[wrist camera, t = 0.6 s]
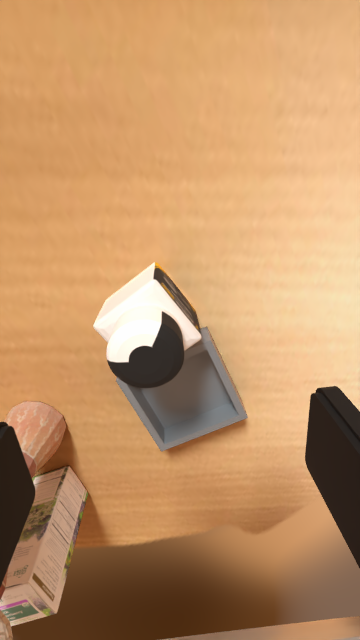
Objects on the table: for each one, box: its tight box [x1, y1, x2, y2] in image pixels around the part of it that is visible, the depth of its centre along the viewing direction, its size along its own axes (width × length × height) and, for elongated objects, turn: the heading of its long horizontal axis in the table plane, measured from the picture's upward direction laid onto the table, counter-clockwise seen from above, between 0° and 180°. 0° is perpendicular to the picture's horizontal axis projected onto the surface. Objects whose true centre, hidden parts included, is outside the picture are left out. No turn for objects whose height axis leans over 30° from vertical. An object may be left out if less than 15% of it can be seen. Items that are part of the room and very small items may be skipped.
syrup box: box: [0, 466, 88, 626], centre depth 39 cm, size 6×6×14 cm
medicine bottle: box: [93, 262, 202, 388], centre depth 30 cm, size 7×7×12 cm
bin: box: [116, 327, 248, 451], centre depth 38 cm, size 11×11×4 cm
